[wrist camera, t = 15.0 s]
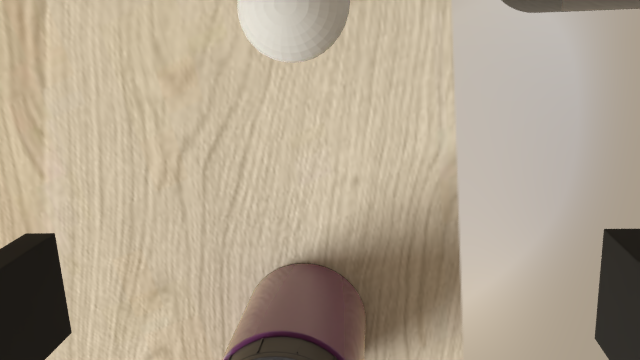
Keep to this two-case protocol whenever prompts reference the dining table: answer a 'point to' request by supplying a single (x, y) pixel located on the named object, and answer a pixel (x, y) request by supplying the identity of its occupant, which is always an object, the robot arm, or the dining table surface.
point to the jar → (305, 311)
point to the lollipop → (292, 26)
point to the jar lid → (282, 350)
